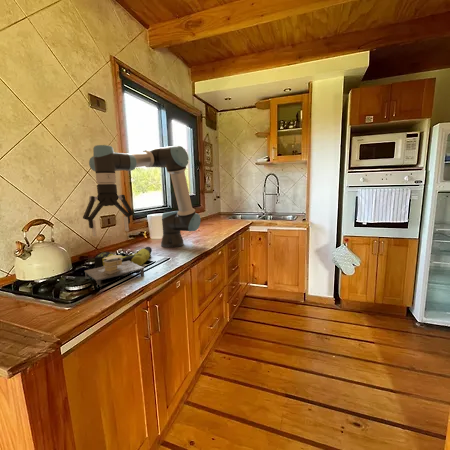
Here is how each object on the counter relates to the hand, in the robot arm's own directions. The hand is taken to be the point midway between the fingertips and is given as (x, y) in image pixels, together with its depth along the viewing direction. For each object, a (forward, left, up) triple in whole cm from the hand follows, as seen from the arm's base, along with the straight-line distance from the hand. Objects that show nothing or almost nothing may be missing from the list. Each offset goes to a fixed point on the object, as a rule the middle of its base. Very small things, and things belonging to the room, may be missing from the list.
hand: (111, 233), depth 109 cm
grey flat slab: (0, 0, -20) cm, 20 cm away
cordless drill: (-14, -21, -21) cm, 33 cm away
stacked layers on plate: (0, 0, -16) cm, 16 cm away
